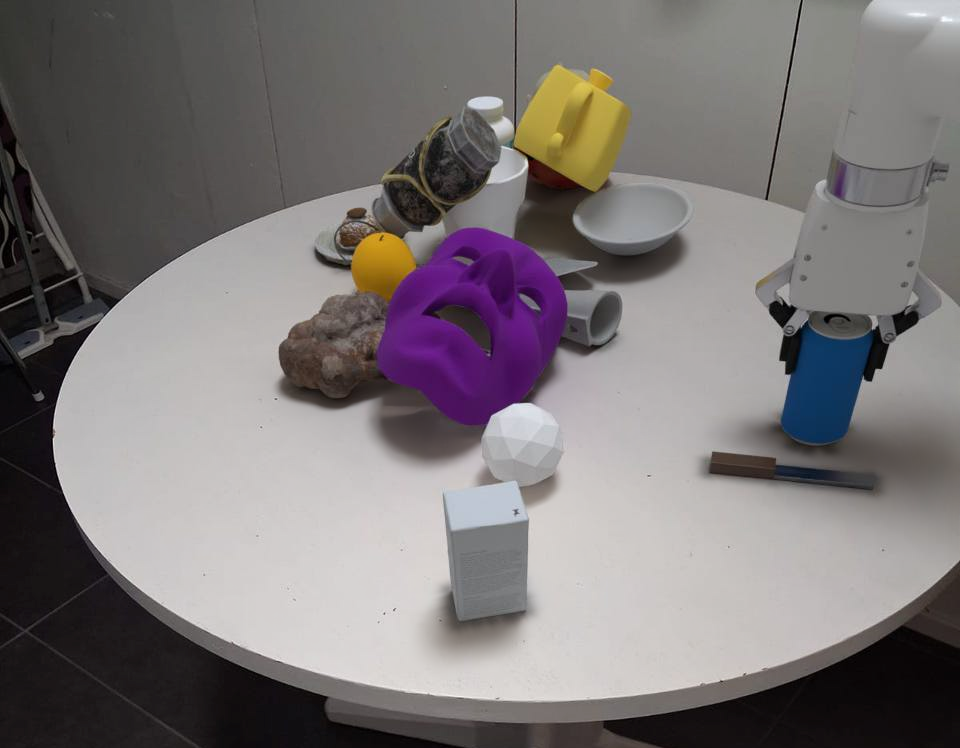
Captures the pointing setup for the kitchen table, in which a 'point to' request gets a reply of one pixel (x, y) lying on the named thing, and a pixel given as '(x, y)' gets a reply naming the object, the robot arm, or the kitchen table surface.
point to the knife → (784, 471)
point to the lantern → (436, 175)
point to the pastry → (345, 236)
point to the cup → (493, 200)
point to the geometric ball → (522, 444)
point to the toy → (539, 169)
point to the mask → (494, 298)
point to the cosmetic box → (487, 549)
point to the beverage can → (826, 377)
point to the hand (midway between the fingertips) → (828, 369)
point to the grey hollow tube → (588, 315)
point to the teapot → (575, 126)
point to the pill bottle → (494, 118)
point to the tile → (568, 265)
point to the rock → (337, 344)
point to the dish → (632, 217)
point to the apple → (381, 264)
